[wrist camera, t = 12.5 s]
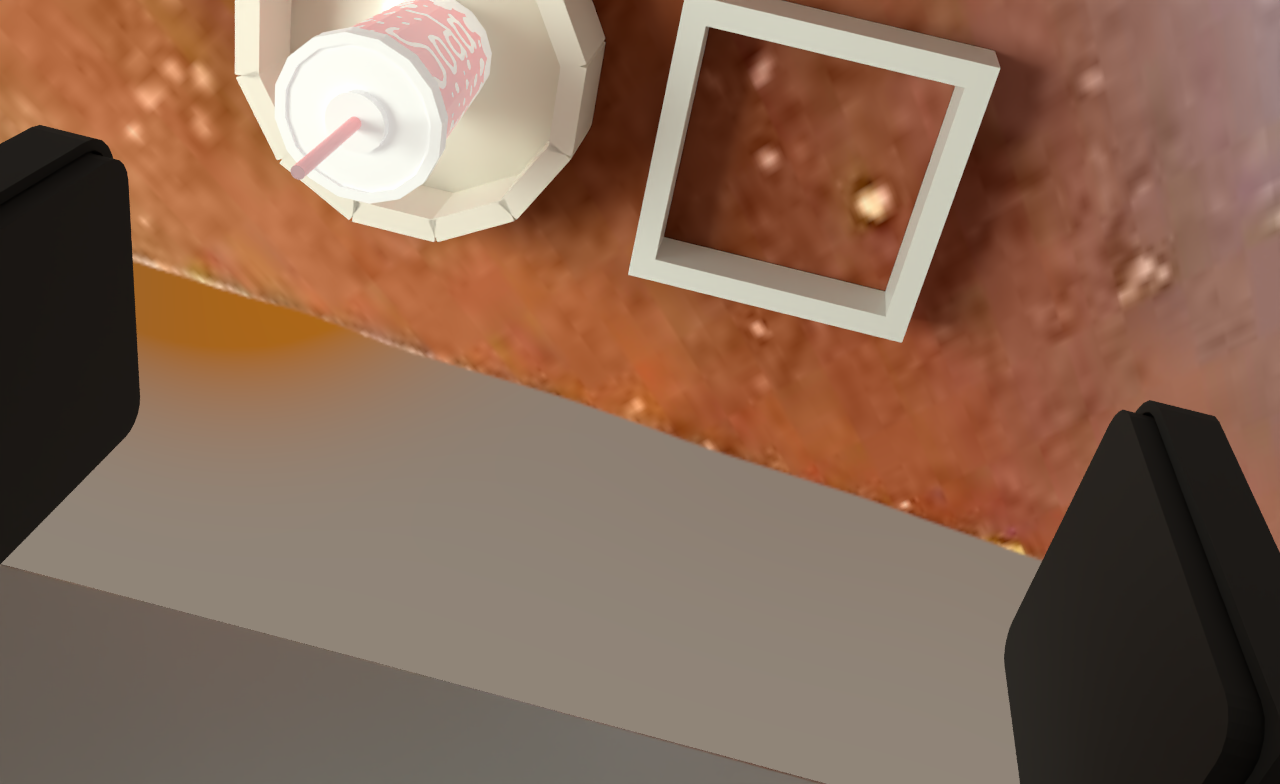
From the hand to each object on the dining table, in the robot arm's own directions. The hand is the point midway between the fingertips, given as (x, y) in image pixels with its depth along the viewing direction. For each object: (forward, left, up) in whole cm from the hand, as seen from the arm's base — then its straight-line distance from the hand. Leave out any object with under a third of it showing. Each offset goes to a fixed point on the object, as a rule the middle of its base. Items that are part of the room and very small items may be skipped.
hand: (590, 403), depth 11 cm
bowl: (+13, +10, -38) cm, 42 cm away
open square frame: (-3, +11, -38) cm, 40 cm away
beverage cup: (+13, +10, -38) cm, 41 cm away
